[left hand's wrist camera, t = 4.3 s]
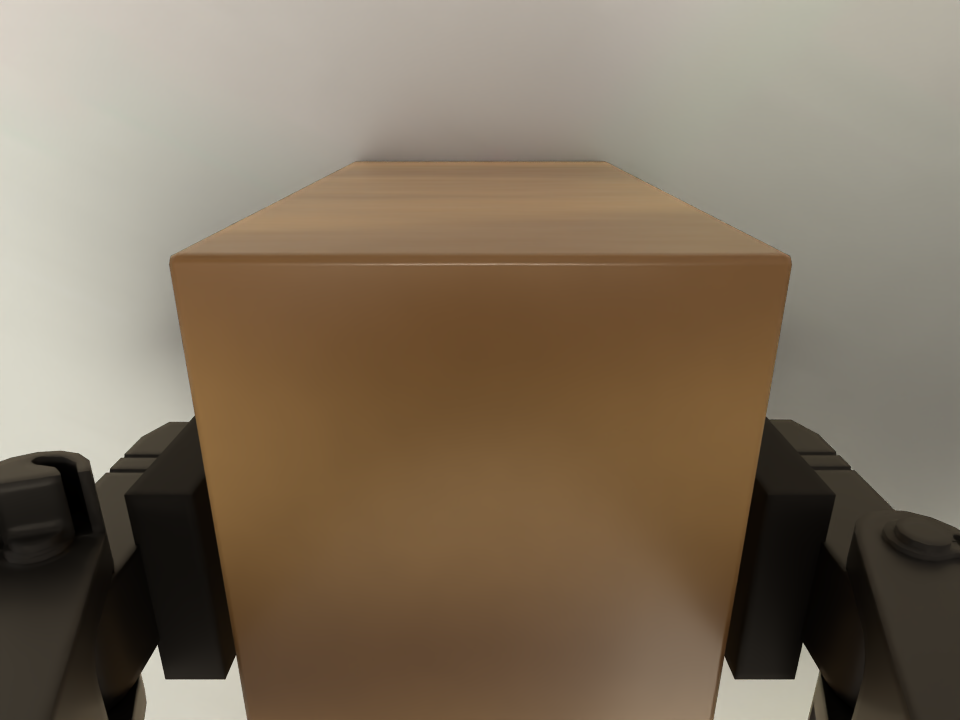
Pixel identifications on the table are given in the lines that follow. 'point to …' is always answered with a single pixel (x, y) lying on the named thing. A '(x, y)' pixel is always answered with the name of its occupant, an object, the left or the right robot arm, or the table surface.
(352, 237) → the post
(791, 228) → the table surface
